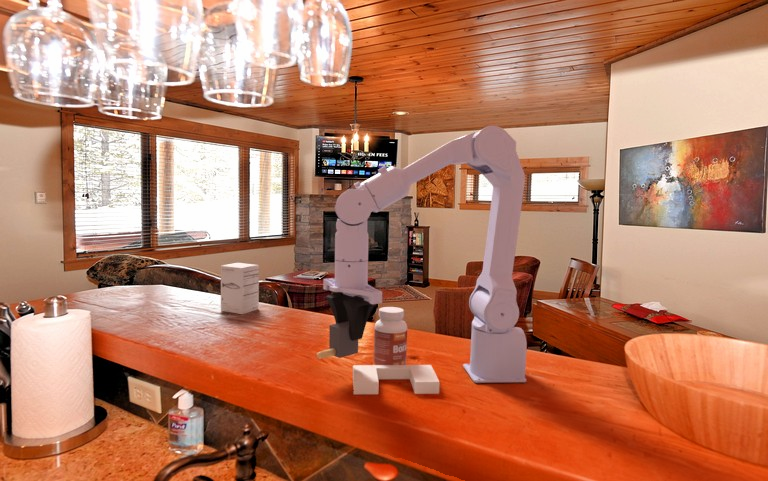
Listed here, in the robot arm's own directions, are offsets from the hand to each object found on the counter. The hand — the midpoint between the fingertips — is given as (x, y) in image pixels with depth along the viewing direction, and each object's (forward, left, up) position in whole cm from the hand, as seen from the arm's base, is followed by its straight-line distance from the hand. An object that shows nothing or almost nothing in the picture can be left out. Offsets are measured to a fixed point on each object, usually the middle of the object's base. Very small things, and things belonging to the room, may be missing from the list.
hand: (350, 336), depth 79 cm
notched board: (-8, +3, -7) cm, 11 cm away
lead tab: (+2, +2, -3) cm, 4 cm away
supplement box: (+29, -46, -8) cm, 56 cm away
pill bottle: (-8, -4, -8) cm, 12 cm away
